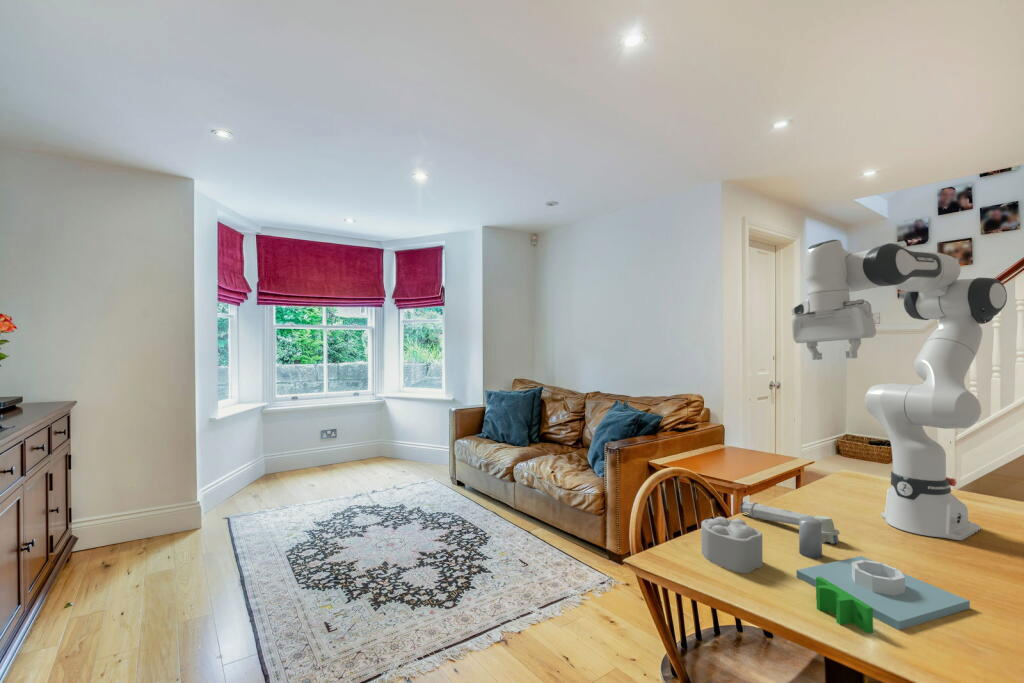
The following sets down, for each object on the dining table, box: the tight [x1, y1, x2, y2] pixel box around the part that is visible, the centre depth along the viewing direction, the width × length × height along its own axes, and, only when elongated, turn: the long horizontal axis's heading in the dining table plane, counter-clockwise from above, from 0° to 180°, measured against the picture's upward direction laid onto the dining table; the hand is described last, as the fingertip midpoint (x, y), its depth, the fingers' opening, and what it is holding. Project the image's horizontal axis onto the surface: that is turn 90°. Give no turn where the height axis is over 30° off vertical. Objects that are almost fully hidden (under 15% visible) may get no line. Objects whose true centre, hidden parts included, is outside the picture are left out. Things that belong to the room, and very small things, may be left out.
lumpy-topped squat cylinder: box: [700, 516, 764, 574], centre depth 110 cm, size 10×13×9 cm
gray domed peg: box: [798, 517, 823, 560], centre depth 112 cm, size 5×5×8 cm
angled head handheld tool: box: [739, 501, 840, 544], centre depth 128 cm, size 5×7×25 cm
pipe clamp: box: [815, 577, 874, 634], centre depth 87 cm, size 11×4×5 cm, turn 10°
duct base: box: [796, 555, 971, 631], centre depth 95 cm, size 20×20×4 cm
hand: (833, 359), depth 118 cm, fingers open, 8 cm apart
